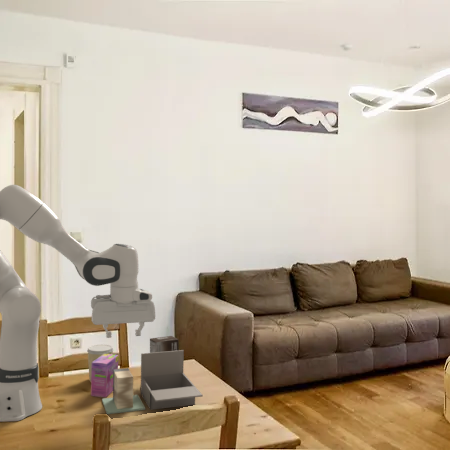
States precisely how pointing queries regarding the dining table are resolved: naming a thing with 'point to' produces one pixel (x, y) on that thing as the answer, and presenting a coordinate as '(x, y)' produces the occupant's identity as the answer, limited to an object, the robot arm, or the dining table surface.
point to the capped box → (123, 388)
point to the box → (103, 375)
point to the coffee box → (164, 344)
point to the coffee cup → (97, 354)
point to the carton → (166, 380)
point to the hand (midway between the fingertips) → (123, 336)
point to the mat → (112, 408)
